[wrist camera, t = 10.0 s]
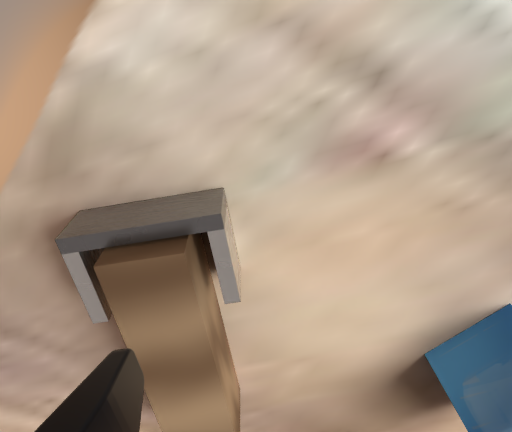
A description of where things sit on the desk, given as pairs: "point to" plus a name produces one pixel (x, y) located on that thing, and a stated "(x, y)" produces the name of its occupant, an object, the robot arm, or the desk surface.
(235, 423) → the rail
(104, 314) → the bracket
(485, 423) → the perfume bottle
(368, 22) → the desk surface
